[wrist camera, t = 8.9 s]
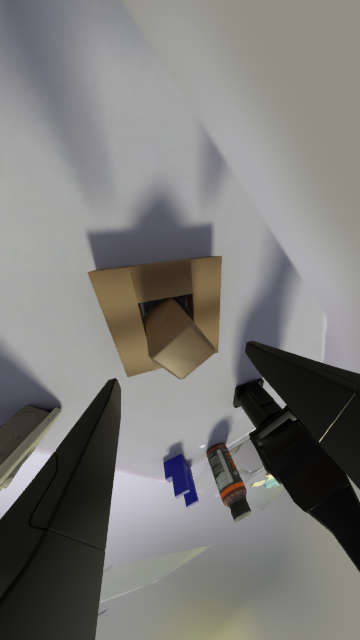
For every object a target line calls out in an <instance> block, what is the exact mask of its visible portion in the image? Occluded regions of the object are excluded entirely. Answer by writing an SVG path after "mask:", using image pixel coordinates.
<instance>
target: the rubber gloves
mask: <svg viewBox="0 0 360 640" xmlns="http://www.w3.org/2000/svg"><path fill="white" fill-rule="evenodd" d="M264 476H267V477H269V479H268V480H267V481H266V482H265V483H264V481H265V480H263V481H260V482H256V483H253V484H252V485H251V486H250V487H253V486H260V485H262V484H263V483H264V484H263V485H264V486H265V487H266V488H271V487H272V486H273V487H275V486H277V485H280V484H279V483H278V482H277V481H276V480H275V478H274V477H273V476H272V475H271V474H269V473H267V474H266V475H264ZM282 485H283V484H282Z"/></svg>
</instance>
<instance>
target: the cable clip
mask: <svg viewBox="0 0 360 640" xmlns="http://www.w3.org/2000/svg"><path fill="white" fill-rule="evenodd" d="M164 470H165V478H166V480H167V481H168V482H169V483H170V482H171V481H173V486H174V493H175V497H176V498H179V497H180V496H182V495H184V498H185V502H186V507H187V508H188V507H190V506H192V505H194V504H196V503H197V502H199V501H198V497H197V493H196V489H195V485H194V480H193V476H192V472H191V469H190V468H189V466H188V465H187V463H186V461H185V460H184V458H183V457H182V455H181V454H180V455H178V456H176V457H174V458H172V459H170V460H168V461H166V462H164Z"/></svg>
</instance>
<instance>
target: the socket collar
mask: <svg viewBox="0 0 360 640" xmlns="http://www.w3.org/2000/svg"><path fill="white" fill-rule="evenodd" d="M221 262H222V256H209V257H200V258H192V259H183V260H175V261H166V262H158V263H150V264H141V265H133V266H124V267H116V268H108V269H99V270H94V271H91V272H88V275H89V277H90V280H91V283H92V285H93V288H94V291H95V293H96V296H97V298H98V301H99V304H100V306H101V309H102V312H103V314H104V317H105V319H106V322H107V325H108V327H109V330H110V332H111V335H112V338H113V340H114V343H115V346H116V348H117V351H118V353H119V356H120V359H121V361H122V364H123V366H124V369H125V372H126V374H127V377H130V376H134V375H138V374H141V373H145V372H148V371H152V370H156V369H159V368H163V367H161V366H160V365H158V364H157V363H155V362H154V361H153V360H151V359H150V357H149V356H148V347H147V336H146V328H145V324H144V320H143V316H142V312H141V308H140V303H141V302H147V301H153V300H158V299H164V298H170V297H176V296H182V295H186V302H187V315H188V316H189V317H190V318H191V319H192V321H193V322H194V323H195V324H196V325H197V327H198V328H199V329H200V330H201V331H202V333H203V334H204V335H205V336H206V337H207V339H208V340H209V341H210V342H211V343H212V344H213V346H214V348H215V352H214V353H217V352H218V340H219V314H220V288H221Z"/></svg>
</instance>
